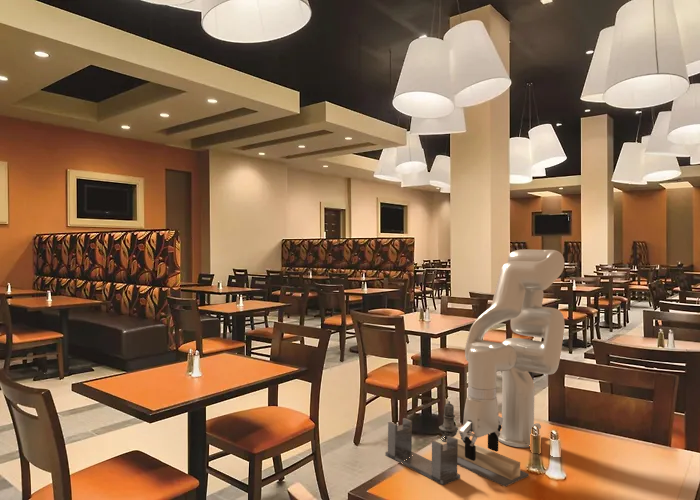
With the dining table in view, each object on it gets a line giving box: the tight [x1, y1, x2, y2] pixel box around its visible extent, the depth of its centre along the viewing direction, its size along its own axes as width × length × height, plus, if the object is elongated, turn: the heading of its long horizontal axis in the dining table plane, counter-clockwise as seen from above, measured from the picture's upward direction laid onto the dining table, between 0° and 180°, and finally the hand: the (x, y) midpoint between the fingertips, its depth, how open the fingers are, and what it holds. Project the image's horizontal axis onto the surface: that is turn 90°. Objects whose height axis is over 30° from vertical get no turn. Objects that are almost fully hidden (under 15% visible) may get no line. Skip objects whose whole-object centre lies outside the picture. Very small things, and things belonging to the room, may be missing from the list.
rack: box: [384, 417, 461, 486], centre depth 136 cm, size 6×22×10 cm, turn 37°
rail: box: [445, 435, 521, 480], centre depth 138 cm, size 4×22×4 cm, turn 37°
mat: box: [457, 457, 530, 487], centre depth 138 cm, size 10×23×1 cm, turn 37°
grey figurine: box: [438, 400, 459, 443], centre depth 156 cm, size 6×6×12 cm
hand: (481, 454), depth 138 cm, fingers open, 9 cm apart
